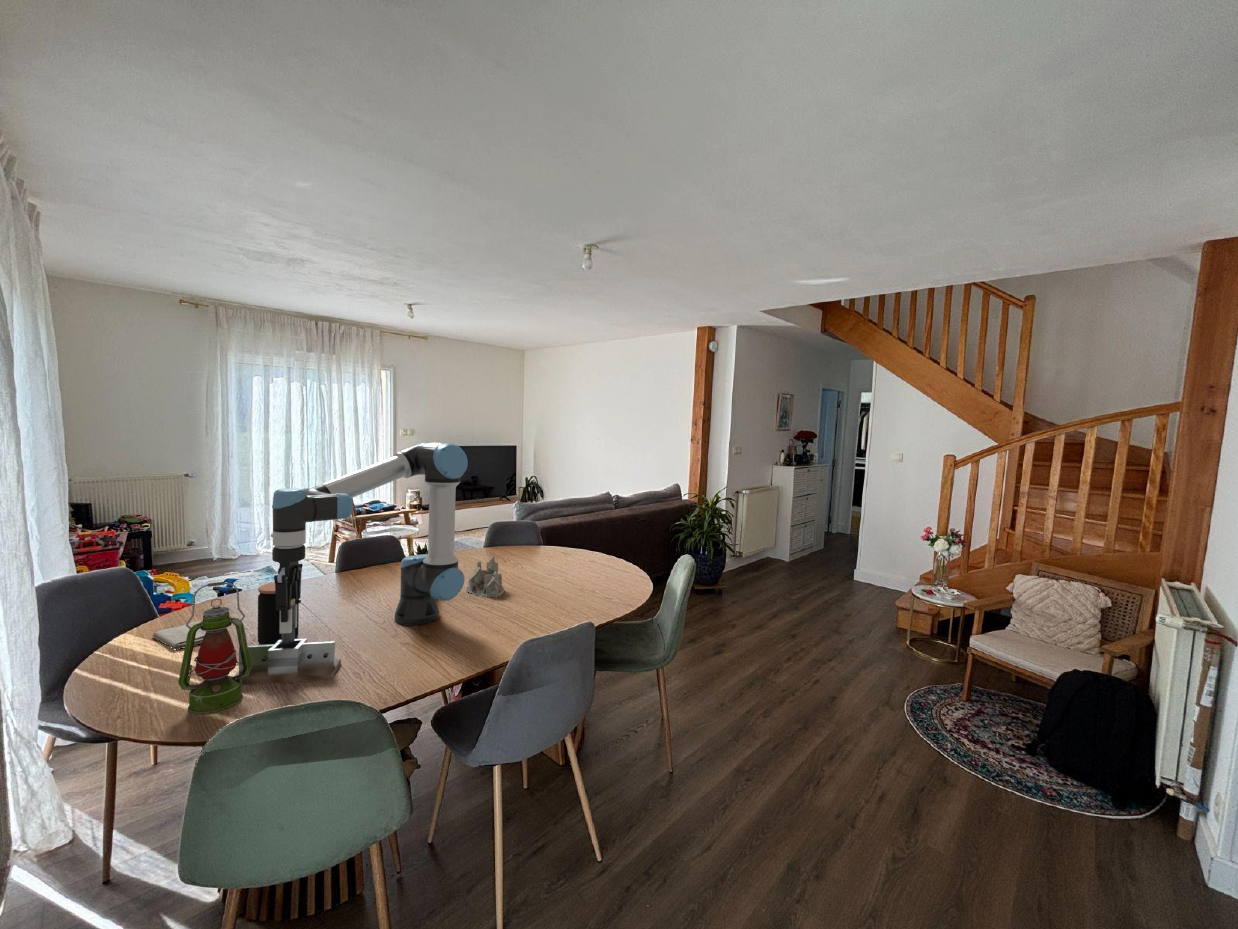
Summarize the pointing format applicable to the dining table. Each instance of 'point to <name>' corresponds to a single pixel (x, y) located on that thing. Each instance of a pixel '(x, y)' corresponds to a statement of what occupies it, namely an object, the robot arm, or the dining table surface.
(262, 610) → the coffee jar
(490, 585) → the ceramic cottage
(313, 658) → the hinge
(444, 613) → the dining table surface
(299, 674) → the hinge board
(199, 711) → the lantern
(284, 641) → the pin
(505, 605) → the dining table surface
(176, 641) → the washcloth
